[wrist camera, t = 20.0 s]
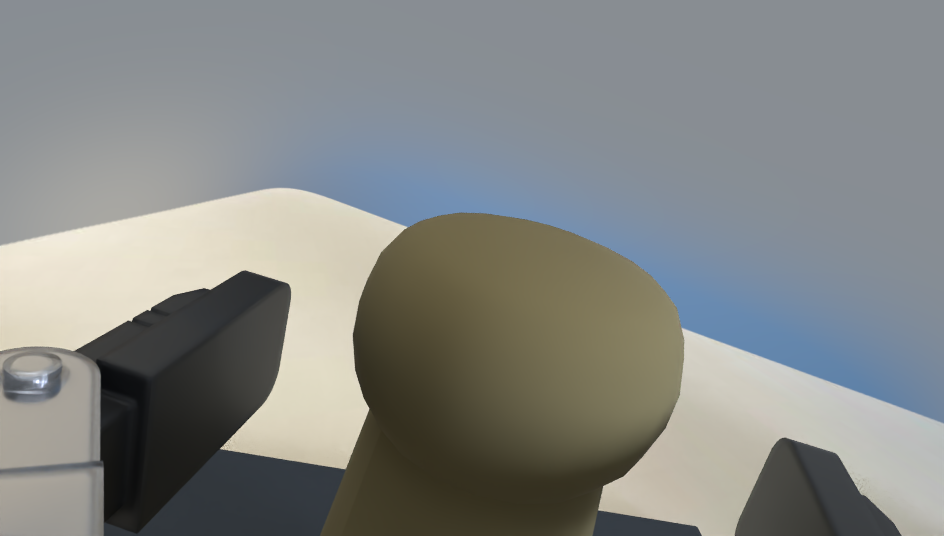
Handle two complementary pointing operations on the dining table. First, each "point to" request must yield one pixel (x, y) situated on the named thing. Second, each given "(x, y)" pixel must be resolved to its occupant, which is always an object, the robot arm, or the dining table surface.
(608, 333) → the game pawn
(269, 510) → the rubber mat
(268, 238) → the dining table surface
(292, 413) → the dining table surface
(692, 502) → the dining table surface
